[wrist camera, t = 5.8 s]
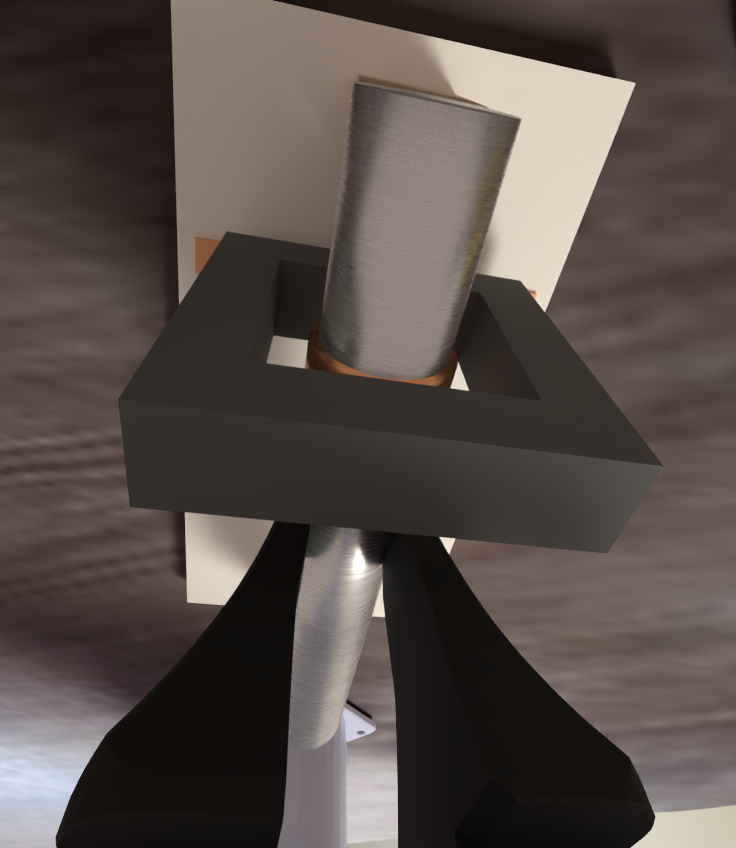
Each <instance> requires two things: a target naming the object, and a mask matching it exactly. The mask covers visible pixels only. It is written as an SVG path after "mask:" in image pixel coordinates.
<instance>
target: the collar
mask: <svg viewBox="0 0 736 848" xmlns="http://www.w3.org/2000/svg"><path fill="white" fill-rule="evenodd" d="M329 256H330V249H329V248H323V247H317V246H311V245H305V244H299V243H293V242H287V241H281V240H275V239H270V238H264V237H258V236H252V235H246V234H240V233H234V232H228V231H227V232H226V233H225V235H224V236H223V238H222V239H221V241H220V243H219V244H218V246H217V247H216V249H215V250H214V252H213V253H212V255H211V256H210V258H209V260H208V261H207V263H206V264H205V266H204V267H203V269H202V270H201V272H200V274H199V275H198V277H197V278H196V280H195V281H194V283H193V284H192V286H191V287H190V289H189V291H188V292H187V294H186V295H185V297H184V298H183V300H182V301H181V303H180V305H179V306H178V308H177V309H176V311H175V312H174V314H173V315H172V317H171V318H170V320H169V322H168V323H167V325H166V326H165V328H164V329H163V331H162V332H161V334H160V336H159V337H158V339H157V340H156V342H155V343H154V345H153V346H152V348H151V349H150V351H149V353H148V354H147V356H146V357H145V359H144V360H143V362H142V363H141V365H140V367H139V368H138V370H137V371H136V373H135V374H134V376H133V377H132V379H131V380H130V382H129V384H128V385H127V387H126V388H125V390H124V391H123V393H122V394H121V396H120V398H119V399H118V400H119V410H120V419H121V428H122V437H123V446H124V455H125V465H126V474H127V483H128V492H129V501H130V507H136V508H147V509H157V510H167V511H178V512H188V513H198V514H208V515H219V516H229V517H239V518H250V519H260V520H270V521H280V522H291V523H301V524H311V525H321V526H332V527H342V528H352V529H363V530H373V531H383V532H393V533H404V534H414V535H424V536H435V537H445V538H455V539H465V540H476V541H486V542H496V543H506V544H517V545H527V546H537V547H548V548H558V549H568V550H578V551H589V552H599V553H608V551H609V550H610V548H611V547H612V545H613V543H614V542H615V540H616V539H617V537H618V536H619V534H620V533H621V531H622V530H623V528H624V526H625V525H626V523H627V522H628V520H629V519H630V517H631V516H632V514H633V513H634V511H635V510H636V508H637V506H638V505H639V503H640V502H641V500H642V499H643V497H644V496H645V494H646V493H647V491H648V490H649V488H650V486H651V485H652V483H653V482H654V480H655V479H656V477H657V476H658V474H659V473H660V471H661V470H662V468H663V465H662V464H661V462H660V461H659V460H658V458H657V457H656V456H655V455H654V453H653V452H652V451H651V449H650V448H649V447H648V446H647V444H646V443H645V442H644V440H643V439H642V438H641V436H640V435H639V434H638V433H637V431H636V430H635V429H634V427H633V426H632V425H631V423H630V422H629V421H628V420H627V418H626V417H625V416H624V414H623V413H622V412H621V410H620V409H619V408H618V407H617V405H616V404H615V403H614V401H613V400H612V399H611V397H610V396H609V395H608V394H607V392H606V391H605V390H604V388H603V387H602V386H601V385H600V383H599V382H598V381H597V379H596V378H595V377H594V375H593V374H592V373H591V372H590V370H589V369H588V368H587V366H586V365H585V364H584V362H583V361H582V360H581V359H580V357H579V356H578V355H577V353H576V352H575V351H574V349H573V348H572V347H571V346H570V344H569V343H568V342H567V340H566V339H565V338H564V336H563V335H562V334H561V333H560V331H559V330H558V329H557V327H556V326H555V325H554V324H553V322H552V321H551V320H550V318H549V317H548V316H547V314H546V313H545V312H544V311H543V309H542V308H541V307H540V305H539V304H538V303H537V301H536V300H535V299H534V298H533V296H532V295H531V294H530V292H529V291H528V290H527V288H526V287H525V286H524V285H523V283H522V282H521V281H519V280H513V279H507V278H501V277H496V276H490V275H484V274H478V273H475V276H474V280H473V283H472V286H471V290H470V293H469V296H468V300H467V303H466V306H465V310H464V313H463V316H462V320H461V323H460V326H459V329H458V333H457V336H456V339H455V343H454V346H453V350H454V351H455V353H456V355H457V358H458V362H459V365H460V368H461V370H462V373H463V376H464V378H465V381H466V384H467V387H468V389H469V391H466V390H459V389H452V388H444V387H437V386H430V385H422V384H415V383H408V382H400V381H393V380H386V379H378V378H371V377H364V376H357V375H349V374H342V373H335V372H327V371H320V370H313V369H305V368H298V367H291V366H283V365H276V364H269V363H267V359H268V355H269V351H270V347H271V343H272V339H273V336H280V337H287V338H294V339H301V340H308V338H309V332H310V329H311V328H312V326H313V325H314V324H315V323H316V322H318V321H319V320H321V314H322V307H323V299H324V292H325V285H326V278H327V270H328V263H329Z"/></svg>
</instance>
